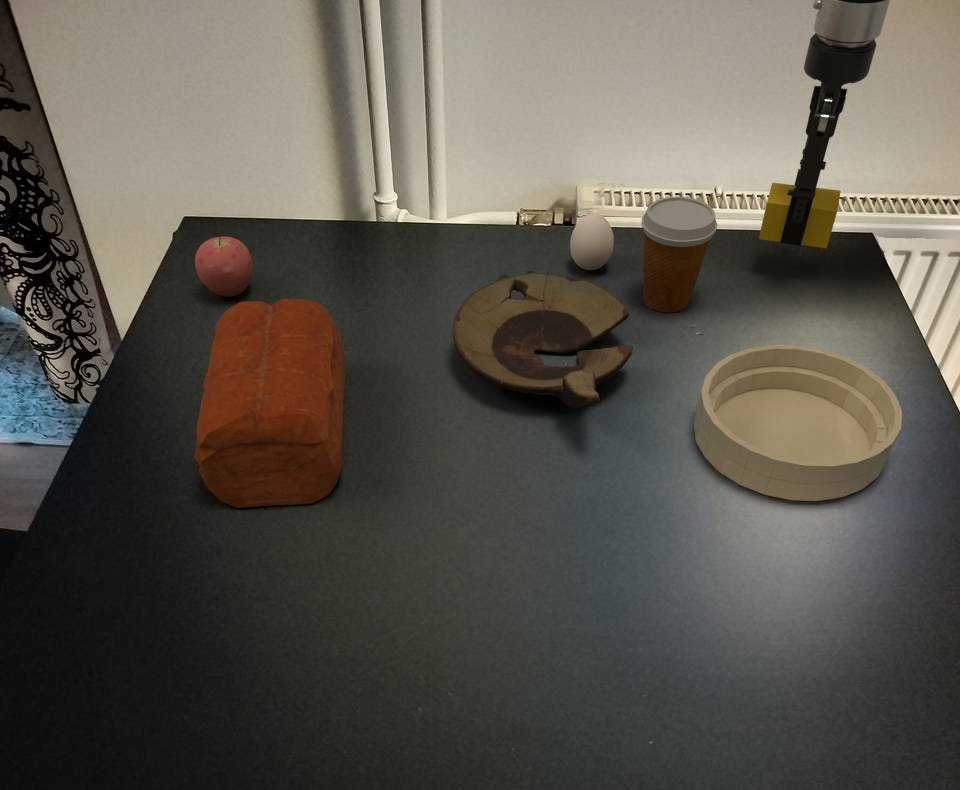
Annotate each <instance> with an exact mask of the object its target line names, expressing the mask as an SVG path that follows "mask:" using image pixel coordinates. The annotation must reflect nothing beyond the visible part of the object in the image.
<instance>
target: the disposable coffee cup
mask: <svg viewBox="0 0 960 790" xmlns="http://www.w3.org/2000/svg"><path fill="white" fill-rule="evenodd" d="M641 226H642V230H643V280H642V281H643V283H642V284H643V285H642V287H643V289H642V291H643V293H642V299H643V302H644V304H645V305H646V306H647V307H648V308H649V309H651V310H654V311H656V312H661V313H677V312H681V311H683V310H685V309H686V308H687V307H688V306H689V305H690V302H691V299H692V296H693V292H694V290H695V287H696V284H697V281H698V278H699V275H700V271H701V269H702V266H703V263H704V260H705V257H706V253H707V250H708V247H709V244H710V241H711V239H712V237H713V236H714V234H715V233H716V231H717V229H718V221H717V220H716V211H715V210H714V209H713V207H712V206H711V205H709V204H708V203H706V202H705V201H702V200H699V199H696V198H692V197H687V196H667V197H662V198H659V199H656V200H654V201H653V202H651V203H650V204H649V205H648V207H647V208H646V210H645V213H644V214H643V215H642V217H641Z"/></svg>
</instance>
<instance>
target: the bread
mask: <svg viewBox="0 0 960 790" xmlns="http://www.w3.org/2000/svg"><path fill="white" fill-rule="evenodd" d="M341 335H342V334H341V328H340V326H338V325H337V324H336V323H335V322H334V321H333V318H332V316H330V314H329V312H328V311H327V310H326V308H325V307H324V306H323V304H320V303H316V302H314V301H311V300H307V299H304V298H281V299H279V300H278V301H276V302H274V303H273V304H271V305H270V304H268V303H266V302H264V301H262V300H254V301H253V300H252V301H240V302H238V303H236V304H235V305H233V306H232V307H230V308H229V309H227V310H225V311H224V313H223V314H222V315H221V316H220V318H219V319H218V320H217V322H216V323H215V324H214V338H213V341H212V344H211V349H210V357H209V363H208V368H207V369H208V370H207V372H206V375H205V377H204V380H203V388H204V392H203V396H202V398H201V401H200V408H199V414H198V419H197V426H196V429H195V430H196V431H195V434H196V442H195V450H194V460H195V461H196V462H197V464H198V465H199V466H200V467H199V469H198V472H199V475H200V477H201V479H202V481H203V483H204V485H205V486H206V488H207V490H209V491H210V492H211V493H212V494H213V495H214V496H215V497H216V498H217V499H218V500H219V501H220V502H222V503H224V504H227V505H229V506H231V507H234V508H236V509H241V508H255V507H268V506H286V505H288V506H290V505H307V504H309V505H311V504H314V503H316V502H317V501H320V500H321V499H323V498H325V497H327V496H329V495H330V494H331V493H332V491H333V490H334V487H336V484H337V483H338V480H339V477H340V475H341V473H342V469H343V452H344V451H343V448H344V447H343V445H344V418H345V389H346V388H345V386H346V355H345V352H344V348H343V342H342V336H341Z"/></svg>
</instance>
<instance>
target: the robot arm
mask: <svg viewBox="0 0 960 790" xmlns="http://www.w3.org/2000/svg"><path fill="white" fill-rule="evenodd" d="M890 1H891V0H814V1H813V3H812V8H813V10H818V11H817V13H816V16H815V20H814V24H813V31H814V34H813V35H812V36H811V37H810V39H809V43H808V47H807V51H806V56H805V60H804V64H803V71H804V73H805V74H806V75H807V76H808V77H809V78H810V79H812V80H814V81H819V82H820V85H814V87H813V90H812V94H811V98H810V102H809V115H808V119H807V124H806V128H805V135H806V136H807V137H806V140H805V145H804V148H803V149H802V152H801V153H802V158H801V159H800V161H799V167H800V168H798V169H797V172H796V177H795V181H794V185H796V187H795V188H794V190H790V189H789V191H788V195H790V196H792V198H791V202H790V206H789V210H788V214H787V218H786V221H785V225H784V229H783V233H782V237H781V241H780V242H779V243H780V244H785V245H791V246H802V245H801V242H802V239H803V235H804V231H805V228H806V224H807V220H808V217H809V213H810V210H811V206H812V202H813V199H814V197H815V194H816V191H815V190H816V188H817V186H818V183H819V179H820V174H821V171H825V169H826V165H827V161H824V160H825V155H826V153H827V149H828V146H829V142H830V139H831V138H833V136H834V135H835V132H836V129H837V125H838V121H839V118H840V114H842V112H843V111H844V106H845V102H846V100H847V97H846V96H847V93H848V88H843V86H844V85H847V84H856V83H858V82H861V81H863V80H864V79H865V78H867V76H868V75H869V72H870V69H871V65H872V62H873V59H874V54H875V52H876V48H877V42H876V39H877V38H878V37H880V35H881V34H882V30H883V27H884V24H885V23H884V22H885V20H886V16H887V12H888V9H889V6H890Z"/></svg>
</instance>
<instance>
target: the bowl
mask: <svg viewBox="0 0 960 790" xmlns="http://www.w3.org/2000/svg"><path fill="white" fill-rule="evenodd" d="M902 425H903V410H902V407H901V405H900V402H899V398H898V396H897V395H896V394H895V392H894V391H893V389H891V387H890V386H889V385H888V384H887V382H886V381H885V380H884V379H882V378H881V377H880V376H879V375H878V374H876V373H874V371H872V370H871V369H870V368H868V367H867V366H865V365H862V364H861V363H859V362H857V361H854V360H853V359H851V358H849V357H847V356H844V355H840V354H837V353H835V352H831V351H829V350H825V349H821V348H815V347H810V346H804V345H797V344H768V345H761V346H754V347H753V346H752V347H748V348H746V349H743V350H739V351H737V352H734V353H731V354H729V355H727V356H726V357H725V358H723V359H721V360H720V361H718V362H716V363H715V364H714V365H713V366H712V368H711V369H710V370H709V372H708V373H706V375H705V377H704V380H703V383H702V387H701V390H700V395H699V399H698V403H697V408H696V413H695V418H694V422H693V430H694V438H695V443H696V444H697V446H698V448H699V450H700V451H701V453H702V455H703V456H704V459H706V460H707V461H708V462H709V464H711V466H713V467H714V468H715V470H717V471H718V472H719V473H720V474H722V475H724V477H726V478H728V479H730V480H731V481H733V482H735V483H736V484H738V485H739V486H741V487H744V488H747V489H748V490H749V489H750V490H752V491H755V492H757V493H760V494H762V495H765V496H769V497H774V498H779V499H783V500H784V499H785V500H789V501H804V502H805V501H808V502H818V501H819V502H820V501H827V500H833V499H838V498H845V497H846V496H849V495H851V494H854V493H857V492H859V491H861V490H863V489H865V488H866V487H867V486H869V485H870V484H871V483H872V482H874V480H877V478H878V477H879V476H880V474H881V472H882V470H883V469H884V467H885V465H886V463H887V461H888V459H889V457H890V455H891V452H892V451H893V448H894V446H895V443H896V442H897V439H898V437H899V435H900V432H901V430H902Z"/></svg>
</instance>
